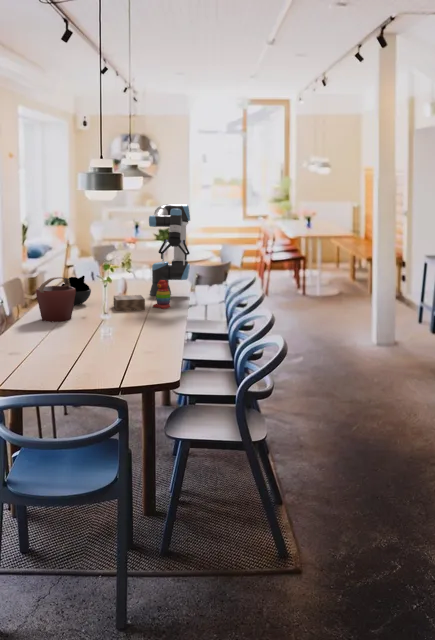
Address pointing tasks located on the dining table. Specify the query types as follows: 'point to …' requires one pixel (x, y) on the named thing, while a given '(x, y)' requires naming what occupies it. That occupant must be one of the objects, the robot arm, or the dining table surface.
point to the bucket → (56, 301)
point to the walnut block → (129, 302)
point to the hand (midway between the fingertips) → (173, 264)
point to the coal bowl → (79, 289)
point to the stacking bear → (162, 295)
